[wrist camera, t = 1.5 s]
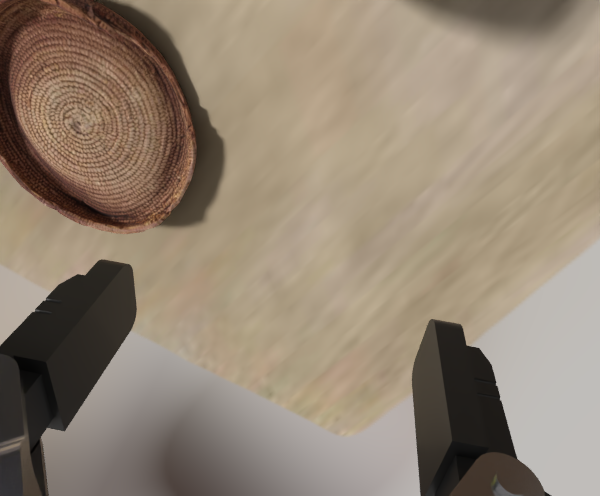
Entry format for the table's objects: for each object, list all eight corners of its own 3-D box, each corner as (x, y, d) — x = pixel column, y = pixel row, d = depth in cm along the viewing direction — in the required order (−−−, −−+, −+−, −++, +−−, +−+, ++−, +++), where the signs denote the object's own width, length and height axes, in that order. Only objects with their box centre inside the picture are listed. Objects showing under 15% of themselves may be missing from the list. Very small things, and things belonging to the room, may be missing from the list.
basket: (244, 169, 46) (231, 190, 42) (104, 244, 54) (81, 268, 49) (88, -66, 37) (51, -69, 33) (-53, 64, 45) (-97, 74, 41)
